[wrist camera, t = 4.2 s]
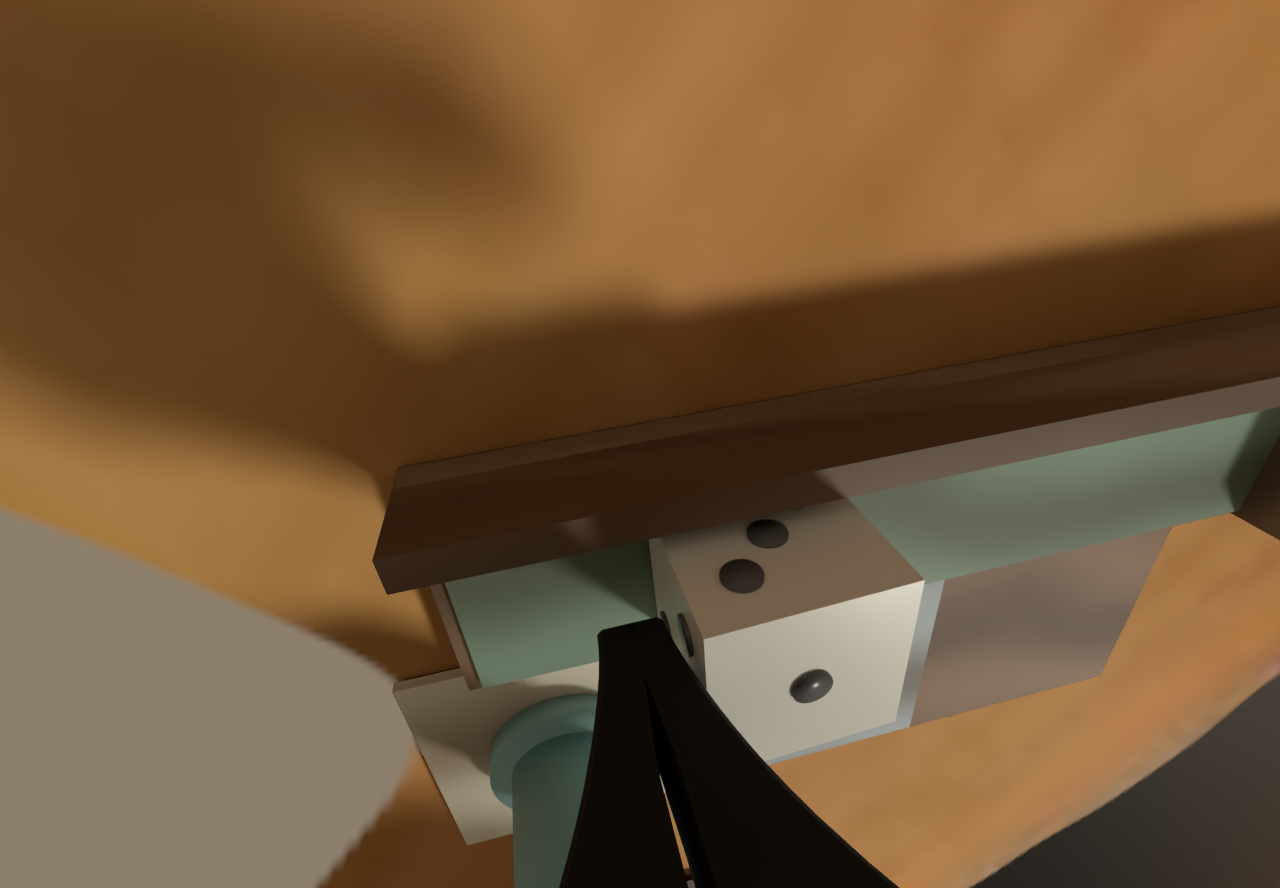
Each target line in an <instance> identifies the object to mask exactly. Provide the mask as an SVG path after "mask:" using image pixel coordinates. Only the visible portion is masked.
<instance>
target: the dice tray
mask: <svg viewBox="0 0 1280 888" xmlns="http://www.w3.org/2000/svg"><path fill="white" fill-rule="evenodd" d="M844 498H848V499H849V500H850V501H851V503H852V504H853V505H854V506H855V507H856V508H857V509H858V510H859V511H860V512H861V513H862V514H863V515H864V516H865V517H866V518H867V519H868V520H869V522H870V523H871V524H872V525H873V526H874V527H875V528H876V529H877V530H878V531H879V532H880V533H881V534H882V535H883V536H884V537H885V538H886V539H887V540H888V542H889V543H890V544H891V545H892V546H893V547H894V548H895V549H896V550H897V551H898V552H899V553H900V554H901V555H902V556H903V557H904V558H905V559H906V560H907V562H908V563H909V564H910V565H911V566H912V567H913V568H914V569H915V570H916V571H917V572H918V573H919V574H920V575H921V576H922V577H923V578H924V579H925V583H924V585H925V584H929V583H933V582H938V581H942V580H946V579H950V578H955V577H959V576H963V575H967V574H972V573H976V572H980V571H984V570H989V569H993V568H997V567H1001V566H1006V565H1010V564H1014V563H1018V562H1023V561H1027V560H1031V559H1035V558H1040V557H1044V556H1048V555H1052V554H1057V553H1061V552H1065V551H1069V550H1074V549H1078V548H1082V547H1086V546H1091V545H1095V544H1099V543H1103V542H1108V541H1112V540H1116V539H1120V538H1125V537H1129V536H1133V535H1137V534H1141V533H1146V532H1150V531H1154V530H1158V529H1163V528H1167V527H1171V526H1175V525H1180V524H1184V523H1188V522H1192V521H1197V520H1201V519H1205V518H1209V517H1214V516H1218V515H1222V514H1226V513H1232V514H1234V515H1235V516H1237V517H1239V518H1241V519H1243V520H1244V521H1246V522H1248V523H1250V524H1252V525H1253V526H1255V527H1257V528H1259V529H1261V530H1262V531H1264V532H1266V533H1268V534H1270V535H1271V536H1273V537H1275V538H1277V539H1279V540H1280V306H1277V307H1272V308H1266V309H1261V310H1255V311H1250V312H1245V313H1239V314H1234V315H1228V316H1223V317H1217V318H1212V319H1206V320H1201V321H1196V322H1190V323H1185V324H1179V325H1174V326H1168V327H1163V328H1158V329H1152V330H1147V331H1141V332H1136V333H1130V334H1125V335H1119V336H1114V337H1109V338H1103V339H1098V340H1092V341H1087V342H1081V343H1076V344H1070V345H1065V346H1060V347H1054V348H1049V349H1043V350H1038V351H1032V352H1027V353H1022V354H1016V355H1011V356H1005V357H1000V358H994V359H989V360H983V361H978V362H973V363H967V364H962V365H956V366H951V367H945V368H940V369H935V370H929V371H924V372H918V373H913V374H907V375H902V376H896V377H891V378H886V379H880V380H875V381H869V382H864V383H858V384H853V385H847V386H842V387H837V388H831V389H826V390H820V391H815V392H809V393H804V394H799V395H793V396H788V397H782V398H777V399H771V400H766V401H760V402H755V403H750V404H744V405H739V406H733V407H728V408H722V409H717V410H712V411H706V412H701V413H695V414H690V415H684V416H679V417H673V418H668V419H663V420H657V421H652V422H646V423H641V424H635V425H630V426H624V427H619V428H614V429H608V430H603V431H597V432H592V433H586V434H581V435H576V436H570V437H565V438H559V439H554V440H548V441H543V442H537V443H532V444H527V445H521V446H516V447H510V448H505V449H499V450H494V451H489V452H483V453H478V454H472V455H467V456H461V457H456V458H450V459H445V460H440V461H434V462H429V463H423V464H418V465H412V466H407V467H401V468H398V470H397V474H396V477H395V481H394V485H393V488H392V492H391V495H390V499H389V503H388V506H387V510H386V513H385V517H384V521H383V524H382V528H381V531H380V535H379V539H378V542H377V546H376V549H375V553H374V557H373V560H372V561H373V564H374V566H375V568H376V570H377V573H378V575H379V577H380V580H381V582H382V584H383V586H384V589H385V591H386V593H387V595H388V594H393V593H398V592H403V591H407V590H412V589H417V588H422V587H426V586H430V589H431V592H432V594H433V597H434V600H435V602H436V605H437V607H438V610H439V613H440V615H441V618H442V620H443V623H444V626H445V628H446V631H447V634H448V636H449V639H450V641H451V644H452V647H453V649H454V652H455V655H456V657H457V660H458V662H459V665H460V668H461V670H462V673H463V675H464V678H465V681H466V683H467V686H468V689H469V691H470V690H474V689H478V688H488V687H492V686H496V685H500V684H505V683H509V682H513V681H517V680H522V679H526V678H530V677H534V676H539V675H543V674H547V673H551V672H555V671H560V670H564V669H568V668H572V667H577V666H581V665H585V664H589V663H594V662H598V661H599V648H598V639H597V635H598V633H599V632H600V631H601V630H603V629H607V628H612V627H616V626H620V625H624V624H629V623H633V622H637V621H642V620H646V619H650V618H655V617H658V614H657V606H656V597H655V589H654V580H653V572H652V564H651V555H650V547H649V540H650V539H654V538H659V537H664V536H669V535H673V534H678V533H683V532H688V531H692V530H697V529H702V528H707V527H711V526H716V525H721V524H726V523H730V522H735V521H740V520H745V519H749V518H754V517H759V516H764V515H768V514H773V513H778V512H783V511H787V510H792V509H797V508H802V507H806V506H811V505H816V504H821V503H825V502H830V501H835V500H840V499H844Z"/></svg>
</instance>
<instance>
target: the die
mask: <svg viewBox="0 0 1280 888" xmlns="http://www.w3.org/2000/svg"><path fill="white" fill-rule="evenodd" d="M649 547H650V555H651V564H652V572H653V580H654V589H655V597H656V606H657V614H658V618H660V619H662V620H663V621H664V623H665V626H666V628H667V630H668V631H669V633H670V635H671V637H672V639H673V640H674V642H675V644H676V646H677V647H678V649H679V651H680V652H681V654H682V655H683V657H684V658H685V660H686V661H687V663H688V665H689V666H690V668H691V669H692V671H693V672H694V674H695V675H696V676H697V678H698V679H699V681H700V682H701V684H702V685H703V686H704V688H705V689H706V690H707V692H708V693H709V694H710V696H711V697H712V698H713V700H714V701H715V702H716V704H717V705H718V706H719V708H720V709H721V710H722V711H723V713H724V714H725V715H726V717H727V718H728V719H729V720H730V722H731V723H732V724H733V725H734V726H735V728H736V729H737V730H738V731H739V732H740V734H741V735H742V736H743V737H744V738H745V740H746V741H747V742H748V743H749V744H750V745H751V747H752V748H753V749H754V750H755V751H756V752H757V753H758V755H759V756H760V757H761V758H762V759H763V760H764V761H768V760H771V759H774V758H777V757H781V756H784V755H787V754H790V753H794V752H797V751H800V750H803V749H807V748H810V747H813V746H816V745H820V744H823V743H826V742H829V741H833V740H836V739H839V738H842V737H846V736H849V735H852V734H855V733H859V732H862V731H865V730H868V729H872V728H875V727H878V726H881V725H885V724H888V723H891V722H894V721H896V716H897V712H898V707H899V702H900V697H901V692H902V688H903V683H904V678H905V673H906V669H907V664H908V659H909V654H910V649H911V645H912V640H913V635H914V630H915V626H916V621H917V616H918V611H919V606H920V602H921V597H922V592H923V587H924V583H925V579H924V578H923V577H922V576H921V575H920V574H919V573H918V572H917V571H916V570H915V569H914V568H913V567H912V566H911V565H910V564H909V563H908V562H907V560H906V559H905V558H904V557H903V556H902V555H901V554H900V553H899V552H898V551H897V550H896V549H895V548H894V547H893V546H892V545H891V544H890V543H889V542H888V540H887V539H886V538H885V537H884V536H883V535H882V534H881V533H880V532H879V531H878V530H877V529H876V528H875V527H874V526H873V525H872V524H871V523H870V522H869V520H868V519H867V518H866V517H865V516H864V515H863V514H862V513H861V512H860V511H859V510H858V509H857V508H856V507H855V506H854V505H853V504H852V503H851V501H850V500H849V499H848V498H844V499H840V500H835V501H830V502H825V503H821V504H816V505H811V506H806V507H802V508H797V509H792V510H787V511H783V512H778V513H773V514H768V515H764V516H759V517H754V518H749V519H745V520H740V521H735V522H730V523H726V524H721V525H716V526H711V527H707V528H702V529H697V530H692V531H688V532H683V533H678V534H673V535H669V536H664V537H659V538H654V539H650V540H649Z"/></svg>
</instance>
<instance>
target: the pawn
mask: <svg viewBox="0 0 1280 888" xmlns="http://www.w3.org/2000/svg"><path fill="white" fill-rule="evenodd" d="M596 704H597V694H571V695H564V696H559V697H554V698H551V699H547V700H544V701H542V702H539V703H536V704H534V705H532V706H530V707H528V708H526V709H524V710H522V711H521V712H519V713H518V714H516V715H515V716H514V717H512V718H511V719H510V720H509V721H507V722H506V723H505V724H504V725H503V726H502V728H501V729H500V730H499V731H498V733H497V734H496V736H495V738H494V740H493V743H492V746H491V751H490V785H491V788H492V791H493V793H494V795H495V796H496V797H497V799H498V800H499V801H500V802H502V803H503V804H504V805H506V806H507V807H509V808H511V809H512V815H513V865H514V888H559V886H560V882H561V878H562V875H563V871H564V867H565V864H566V860H567V857H568V853H569V849H570V845H571V841H572V837H573V833H574V829H575V825H576V821H577V816H578V812H579V808H580V803H581V798H582V794H583V789H584V784H585V778H586V772H587V767H588V761H589V755H590V750H591V744H592V737H593V730H594V721H595V713H596Z"/></svg>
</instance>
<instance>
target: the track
mask: <svg viewBox="0 0 1280 888" xmlns="http://www.w3.org/2000/svg"><path fill="white" fill-rule="evenodd" d="M1171 527H1172V526H1171ZM1171 527H1167V528H1163V529H1158V530H1154V531H1150V532H1146V533H1141V534H1137V535H1133V536H1129V537H1125V538H1120V539H1116V540H1112V541H1108V542H1103V543H1099V544H1095V545H1091V546H1086V547H1082V548H1078V549H1074V550H1069V551H1065V552H1061V553H1057V554H1052V555H1048V556H1044V557H1040V558H1035V559H1031V560H1027V561H1023V562H1018V563H1014V564H1010V565H1006V566H1001V567H997V568H993V569H989V570H984V571H980V572H976V573H972V574H967V575H963V576H959V577H955V578H950V579H946V580H942V581H938V582H933V583H929V584H925V585H924V587H923V592H922V597H921V602H920V606H919V611H918V616H917V621H916V626H915V630H914V635H913V640H912V645H911V649H910V654H909V659H908V664H907V669H906V673H905V678H904V683H903V688H902V692H901V697H900V702H899V707H898V712H897V716H896V721H894V722H891V723H888V724H885V725H881V726H878V727H875V728H872V729H868V730H865V731H862V732H859V733H855V734H852V735H849V736H846V737H842V738H839V739H836V740H833V741H829V742H826V743H823V744H820V745H816V746H813V747H810V748H807V749H803V750H800V751H797V752H794V753H790V754H787V755H784V756H781V757H777V758H774V759H771V760H768V761H765V762H766V763H767V765H770V764H773V763H777V762H781V761H784V760H788V759H792V758H796V757H799V756H803V755H807V754H811V753H814V752H818V751H822V750H825V749H829V748H833V747H837V746H840V745H844V744H848V743H851V742H855V741H859V740H863V739H866V738H870V737H874V736H877V735H881V734H885V733H889V732H892V731H896V730H900V729H903V728H907V727H911V726H915V725H918V724H922V723H926V722H929V721H933V720H937V719H941V718H944V717H948V716H952V715H956V714H959V713H963V712H967V711H970V710H974V709H978V708H982V707H985V706H989V705H993V704H996V703H1000V702H1004V701H1008V700H1011V699H1015V698H1019V697H1022V696H1026V695H1030V694H1034V693H1037V692H1041V691H1045V690H1048V689H1052V688H1056V687H1060V686H1063V685H1067V684H1071V683H1074V682H1078V681H1082V680H1086V679H1089V678H1093V677H1097V676H1100V675H1101V673H1102V671H1103V669H1104V667H1105V665H1106V662H1107V660H1108V658H1109V656H1110V654H1111V652H1112V650H1113V648H1114V646H1115V644H1116V642H1117V640H1118V638H1119V635H1120V633H1121V631H1122V629H1123V627H1124V625H1125V623H1126V621H1127V619H1128V617H1129V615H1130V613H1131V611H1132V608H1133V606H1134V604H1135V602H1136V600H1137V598H1138V596H1139V594H1140V592H1141V590H1142V588H1143V586H1144V584H1145V581H1146V579H1147V577H1148V575H1149V573H1150V571H1151V569H1152V567H1153V565H1154V563H1155V561H1156V559H1157V557H1158V554H1159V552H1160V550H1161V548H1162V546H1163V544H1164V542H1165V540H1166V538H1167V536H1168V534H1169V532H1170V530H1171ZM598 678H599V661H598V662H594V663H589V664H585V665H581V666H577V667H572V668H568V669H564V670H560V671H555V672H551V673H547V674H543V675H539V676H534V677H530V678H526V679H522V680H517V681H513V682H509V683H505V684H500V685H496V686H492V687H488V688H478V689H474V690H470V691H469V689H468V686H467V683H466V681H465V678H464V675H463V673H462V670H461V668H458V669H453V670H449V671H445V672H440V673H436V674H431V675H427V676H423V677H418V678H414V679H410V680H405V681H401V682H397V683H394V687H393V692H392V693H393V695H394V697H395V699H396V701H397V703H398V705H399V707H400V709H401V711H402V713H403V715H404V717H405V719H406V721H407V723H408V725H409V728H410V730H411V732H412V734H413V736H414V738H415V740H416V742H417V744H418V746H419V748H420V750H421V752H422V754H423V756H424V758H425V760H426V762H427V764H428V766H429V768H430V770H431V772H432V774H433V777H434V779H435V781H436V783H437V785H438V787H439V789H440V791H441V793H442V795H443V797H444V799H445V801H446V803H447V805H448V807H449V809H450V811H451V813H452V815H453V817H454V819H455V821H456V824H457V826H458V828H459V830H460V832H461V834H462V836H463V838H464V840H465V842H466V844H467V846H468V845H472V844H476V843H480V842H483V841H487V840H491V839H494V838H498V837H502V836H506V835H509V834H513V815H512V809H511V808H509V807H507V806H506V805H504V804H503V803H502V802H500V801H499V800H498V799H497V797H496V796H495V795H494V793H493V791H492V788H491V785H490V751H491V746H492V743H493V740H494V738H495V736H496V734H497V733H498V731H499V730H500V729H501V728H502V726H503V725H504V724H505V723H506V722H507V721H509V720H510V719H511V718H512V717H514V716H515V715H516V714H518V713H519V712H521V711H522V710H524V709H526V708H528V707H530V706H532V705H534V704H536V703H539V702H542V701H544V700H547V699H551V698H554V697H559V696H564V695H571V694H598ZM660 778H661V776H660ZM661 783H662V779H661ZM662 787H663V791H664V793H666V792H665V789H664V786H663V783H662Z"/></svg>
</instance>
